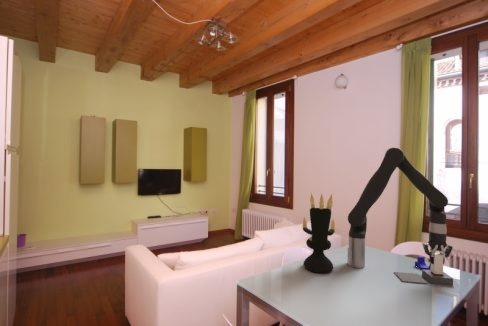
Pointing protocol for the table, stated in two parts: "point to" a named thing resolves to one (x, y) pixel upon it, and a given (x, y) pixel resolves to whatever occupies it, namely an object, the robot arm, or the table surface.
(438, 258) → the plug
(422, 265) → the cable clip
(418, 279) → the mat
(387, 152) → the robot arm
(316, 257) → the candelabra
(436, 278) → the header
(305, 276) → the table surface
